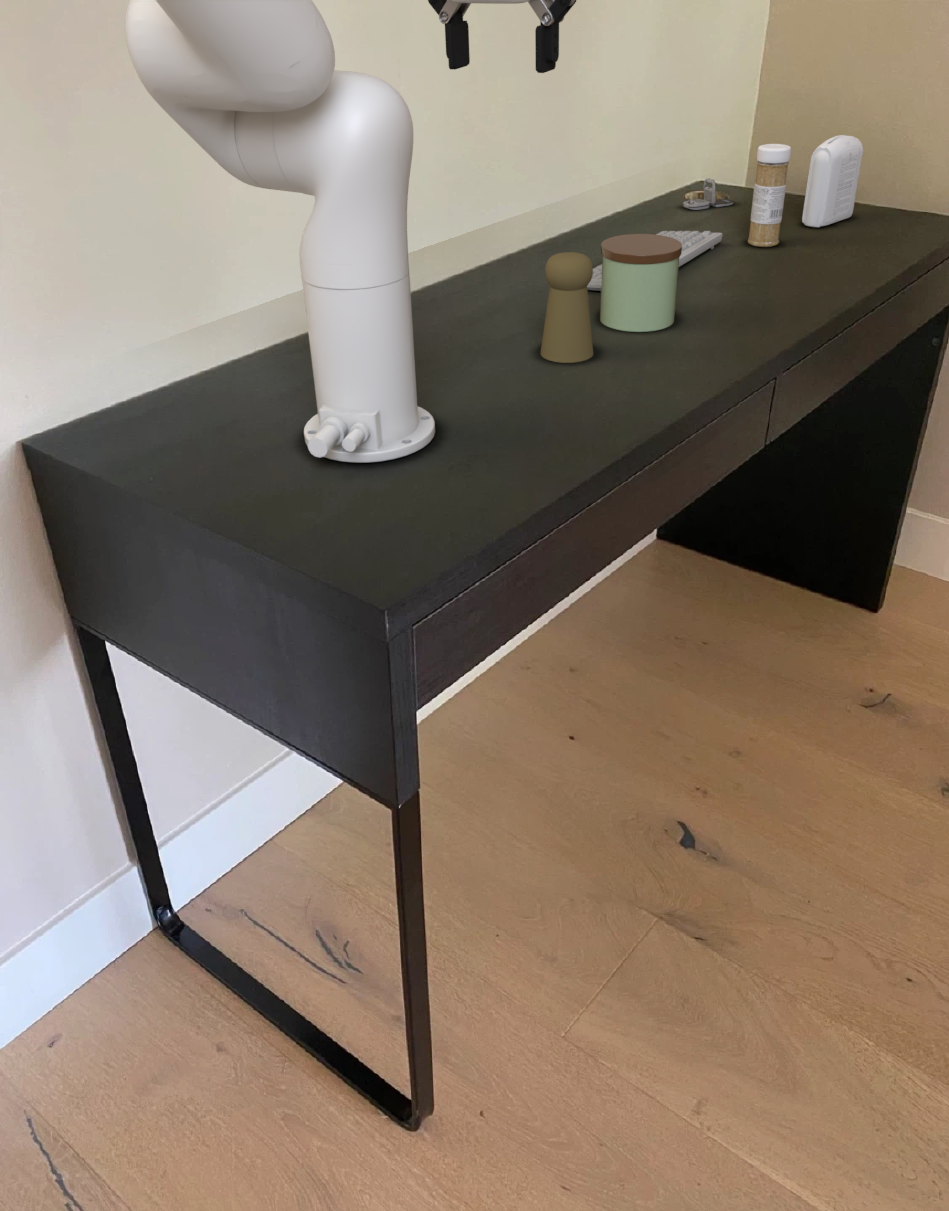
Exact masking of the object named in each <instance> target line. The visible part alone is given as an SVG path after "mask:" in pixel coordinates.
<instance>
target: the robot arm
mask: <svg viewBox="0 0 949 1211" xmlns="http://www.w3.org/2000/svg"><path fill="white" fill-rule="evenodd" d="M427 2H428V3H429V5H430V6H431V7H432V9H433V10H434V12H435V13H436V14H437V16H438V19H439V22H440V23H441V24H443V25H444V37H445V55H446V58H447V59H448V68H449V70H459V69H461V68H465V67H467V66H469V65H470V64H471V63H470V60H471V59H470V57H471V56H470V32H469V30H470V29H469V23H468V20H464V16H465V15H466V13H467V11H468V10H469V7H470V6H471V4H487V5H488V4H491V5H492V4H494V5H496V4H497V5H498V4H499V5H500V4H502V5H503V4H504V5H505V4H506V5H508V4H509V5H510V4H511V5H512V4H513V5H514V4H515V5H516V4H525V3H528V4H529V6H530V7H531V9H532V11H533V12H534V14H535V15H536V16H537V18H538V19H539V21H540V25H537V26H536V27H535V33H534V34H535V41H534V42H535V71H536V72H537V73H538V74H544V73H548V72H550V71H553V70H555V69H556V66H557V62H558V61H559V58H560V57H559V56H560V23H562V22H563V21H564V19H565V16H566V15H567V14H568V13H569V11H571V9H572V8H573V6H575V4H576V3H577V0H427ZM124 18H125V20H124V25H125V26H124V31H125V32H124V34H125V41H126V45H127V50H128V54H129V57H130V61H131V63H132V66H133V68H134V70H135V72H136V74H137V76H138V78H139V80H140V82H141V84H142V86H143V87H144V88H145V90H146V91H147V93H148V94H149V95H150V96H151V98H152V99H153V100H154V102H156V103H157V104H158V105H159V107H160V108H161V109H162V110H163V111H164V112H165V113H166V114H167V115H168V116H169V117H170V118H171V119H172V120H173V121H174V122H175V123H176V124H177V125H178V126H179V127H180V128H181V129H182V130H183V131H184V132H185V133H186V134H187V135H188V136H189V137H190V138H191V139H192V140H193V141H194V142H195V143H196V144H197V145H198V146H199V147H200V148H202V149H203V151H205V153H207V154H208V155H209V157H210V158H212V159H213V161H215V163H217V164H218V165H219V166H220V168H222V169H223V170H224V171H226V172H227V173H228V174H229V175H231V176H232V177H234V179H236V180H238V181H240V182H241V183H243V184H246V185H248V186H251V187H255V188H261V189H266V190H273V191H281V192H282V191H283V192H290V193H291V192H292V193H299V194H303V195H308V196H313V197H314V204H313V208H312V211H311V213H310V216H309V217H308V219H307V222H306V224H305V227H304V229H303V232H302V234H301V238H300V244H299V268H300V277H301V283H302V292H303V300H304V309H305V316H306V325H307V334H308V342H309V350H310V351H309V352H310V358H311V359H310V360H311V368H312V375H313V382H314V383H313V384H314V391H315V392H314V393H315V400H316V410H317V413H316V414H314V415H313V416H312V417H311V418H310V419H309V420H308V421H307V422H306V424H305V425H304V426H303V436H304V442H305V443H304V444H305V445H306V446H307V449H308V451H309V453H310V454H311V455H312V456H313V457H315V458H319V459H320V458H326V459H328V460H330V461H337V462H342V463H352V464H363V463H364V464H370V463H380V462H386V461H393V460H397V459H400V458H404V457H407V456H409V455H412V454H414V453H416V452H418V451H420V450H422V449H424V448H425V447H426V446H427V445H429V443H431V441H432V440H433V438H435V434H436V422H435V421H436V420H435V419H434V416H433V415H432V414H431V413H430V412H429V411H427V410H426V409H424V408H423V407H420V406H418V395H417V394H418V392H417V380H416V379H417V378H416V375H417V374H416V360H415V359H416V358H415V343H414V342H415V341H414V329H413V328H414V326H413V325H414V324H413V309H412V292H411V276H410V264H409V263H410V262H409V260H410V259H409V245H408V244H409V243H408V199H409V187H410V177H411V169H412V161H413V154H414V153H413V152H414V123H413V118H412V114H411V111H410V108H409V106H408V104H407V102H406V100H405V99H404V97H403V95H401V93H400V92H399V91H398V90H397V89H396V88H395V87H393V85H391V84H390V83H388V82H387V81H386V80H383V79H381V78H379V77H377V76H374V75H370V74H368V73H364V72H358V71H352V70H351V71H350V70H338V69H337V70H335V67H336V51H335V47H334V41H333V38H332V35H331V33H330V30H329V27H328V25H327V24H326V21H325V19H324V18H323V16H322V14H321V12H320V10H319V9H318V7H317V6H316V4H315V3H314V2H313V0H129V1H128V3H127V6H126V11H125V17H124Z"/></svg>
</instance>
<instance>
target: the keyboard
mask: <svg viewBox="0 0 949 1211" xmlns="http://www.w3.org/2000/svg"><path fill="white" fill-rule="evenodd" d="M655 235H662V236H667V237H671V238H674V239H676V240H678V241H680V242H681V243H682V253H681V255H680V257H679V268H680V267H682V266H683V265H684V264H686V263H688V262H690V261H691V260H693V259H694V258H696V257H697V256H699V255H701V254H703V253H704V252H706V251H708V250H709V249H710V250H713V249H714V248H715V246H716V245H717V244H719V243H720V242H722V240H723V233H722V232H711V230H704V231H702V232H700V231H699V230H692V231H691V230H677V231H676V230H669V231H668V230H661V231H660V232H658V233H655ZM601 279H602V263H601V264H599V265H597V266H595V267H593V275H592V279H591V281H590V282H589V284H588V285H587V291H600V292H601Z"/></svg>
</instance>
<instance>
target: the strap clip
mask: <svg viewBox="0 0 949 1211" xmlns="http://www.w3.org/2000/svg"><path fill="white" fill-rule="evenodd" d="M708 183H710V184H712V186H709V185H708ZM716 186H717V185H716V181H715V179H712V178H705V179H704V182H703V199H702V198H696V199H688V200H685V201H683V202H682V207H683V208H685V209H688V210H692V211H700V210H706V209H709V208H710V206H712V207H715V208H722V207H729V206H732V205H733V204H734V203H735V202H734V201H733V200H730V199H728V198H717V187H716Z"/></svg>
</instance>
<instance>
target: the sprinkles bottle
mask: <svg viewBox="0 0 949 1211" xmlns="http://www.w3.org/2000/svg"><path fill="white" fill-rule="evenodd" d="M756 151H757V152H756V161H757V162H756V171H755V178H754V179H755V180H754V185H753V192H752V194H753V195H752V202H751V203H752V204H751V211H750V224H749V233H748V238H747V243H748V244H749V245H751V246H752V247H758V248H772V247H775V246H777V245H778V244H779V243H780V240H779V239H780V238H779V237H780V230H781V223H782V219H783V211H784V205H785V204H784V203H785V196H786V190H787V189H786V188H787V177H788V176H787V175H788V166H789V162H790V160H791V154H792V147H791V146H790V145H788V144H783V143H766V144H761V145H759V146H758V147H757V150H756Z"/></svg>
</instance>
